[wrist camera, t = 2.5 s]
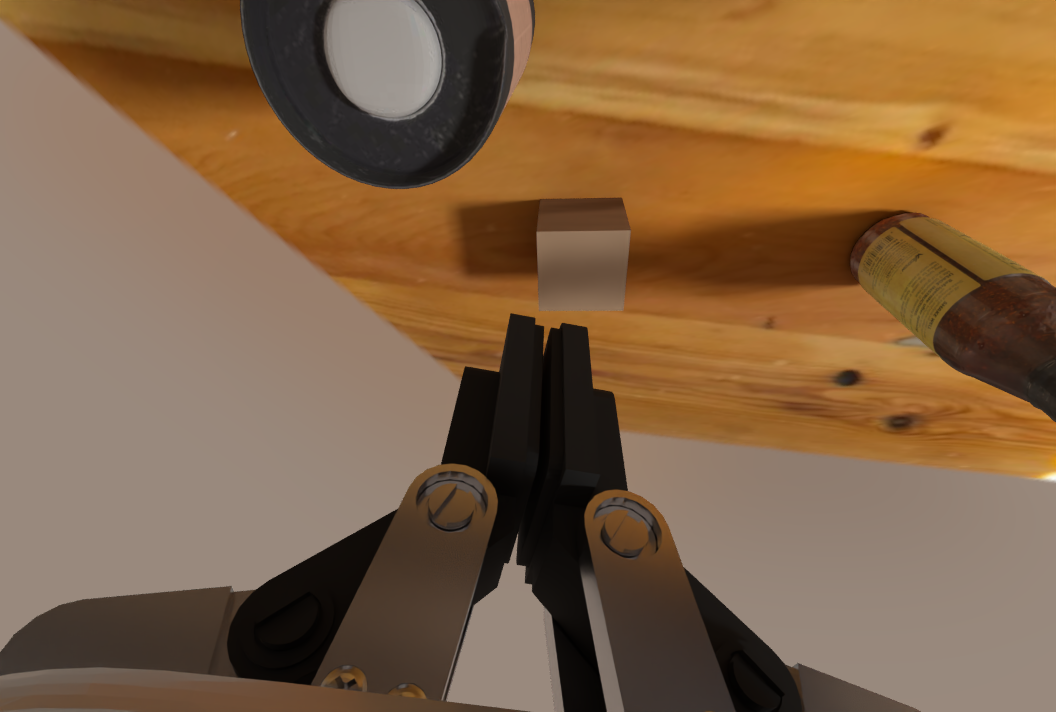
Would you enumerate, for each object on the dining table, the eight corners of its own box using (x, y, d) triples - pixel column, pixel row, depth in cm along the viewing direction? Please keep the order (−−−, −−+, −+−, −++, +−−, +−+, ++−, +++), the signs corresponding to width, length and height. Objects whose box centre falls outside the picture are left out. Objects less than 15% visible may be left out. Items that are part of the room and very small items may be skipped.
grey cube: (540, 198, 36) (536, 231, 31) (621, 197, 36) (630, 230, 31) (541, 271, 40) (538, 310, 35) (616, 270, 39) (623, 310, 34)
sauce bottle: (854, 297, 39) (1048, 506, 24) (837, 234, 36) (1046, 427, 20) (948, 259, 37) (1234, 464, 21) (938, 188, 34) (1264, 367, 18)
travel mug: (404, 63, 31) (238, 146, 15) (427, -90, 27) (224, -199, 11) (517, 106, 32) (472, 225, 16) (558, -33, 28) (550, -55, 12)
